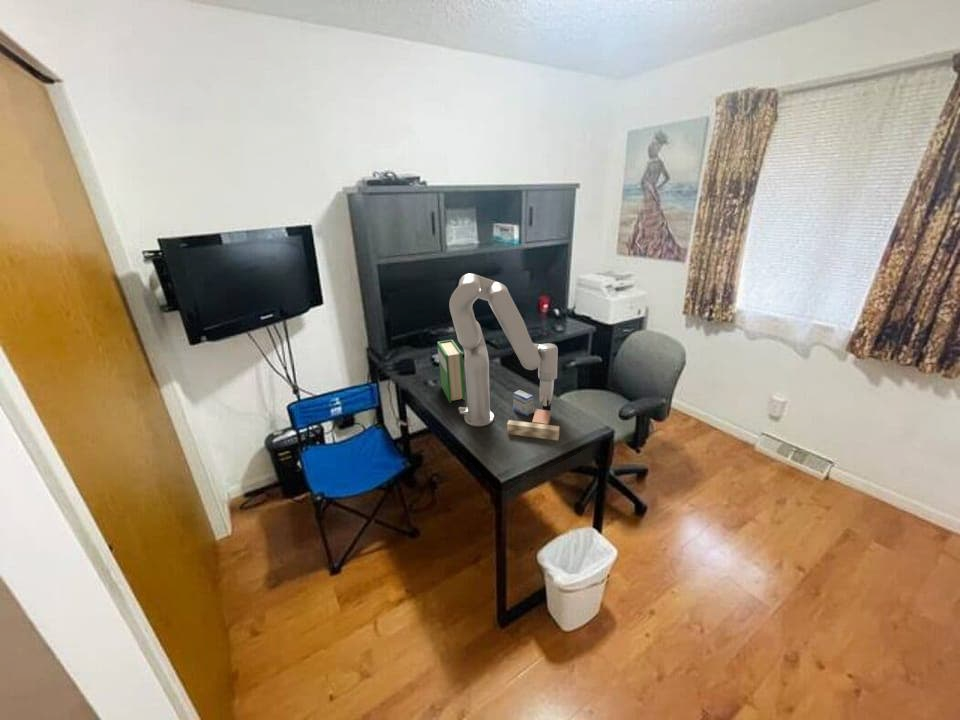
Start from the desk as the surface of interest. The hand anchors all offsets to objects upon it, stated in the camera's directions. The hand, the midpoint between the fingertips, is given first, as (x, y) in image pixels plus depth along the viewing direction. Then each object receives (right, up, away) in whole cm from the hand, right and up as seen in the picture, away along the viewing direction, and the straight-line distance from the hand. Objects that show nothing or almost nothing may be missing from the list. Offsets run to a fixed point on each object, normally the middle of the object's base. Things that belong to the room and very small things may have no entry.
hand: (546, 412), depth 163 cm
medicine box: (-10, 0, +4) cm, 11 cm away
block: (-3, -4, -5) cm, 7 cm away
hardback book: (-41, +6, +22) cm, 47 cm away
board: (-7, -7, -12) cm, 16 cm away
